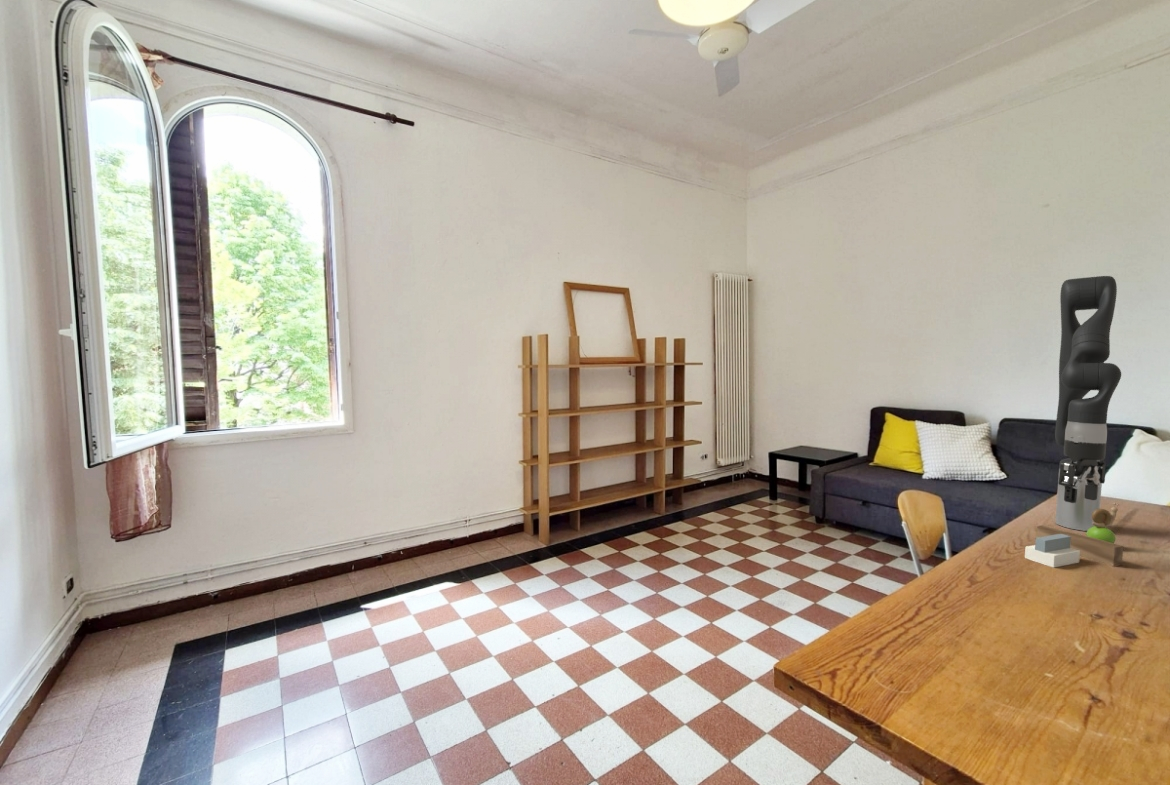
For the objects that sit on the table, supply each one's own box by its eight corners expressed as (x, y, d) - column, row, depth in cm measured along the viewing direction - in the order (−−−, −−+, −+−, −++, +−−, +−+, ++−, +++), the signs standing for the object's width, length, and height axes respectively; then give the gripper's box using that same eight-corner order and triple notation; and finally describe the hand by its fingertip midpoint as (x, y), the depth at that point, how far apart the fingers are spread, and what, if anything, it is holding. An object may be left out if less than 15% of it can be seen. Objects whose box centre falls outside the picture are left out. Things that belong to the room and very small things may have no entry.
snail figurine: (1124, 550, 129) (1128, 506, 128) (1100, 549, 129) (1103, 506, 129) (1103, 542, 135) (1106, 500, 134) (1080, 542, 135) (1083, 500, 134)
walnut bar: (1044, 542, 135) (1045, 524, 135) (1121, 565, 120) (1123, 546, 120) (1035, 543, 134) (1037, 526, 134) (1113, 567, 119) (1114, 547, 119)
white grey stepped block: (1050, 553, 127) (1051, 531, 126) (1079, 562, 121) (1081, 539, 121) (1024, 557, 124) (1026, 535, 123) (1053, 567, 118) (1055, 543, 118)
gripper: (1083, 436, 131) (1079, 495, 132) (1049, 438, 126) (1045, 499, 127) (1121, 440, 124) (1116, 502, 125) (1086, 443, 119) (1081, 507, 120)
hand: (1080, 500), depth 126 cm, fingers open, 8 cm apart
